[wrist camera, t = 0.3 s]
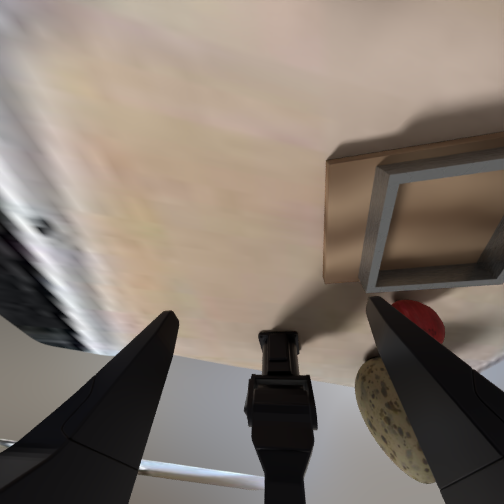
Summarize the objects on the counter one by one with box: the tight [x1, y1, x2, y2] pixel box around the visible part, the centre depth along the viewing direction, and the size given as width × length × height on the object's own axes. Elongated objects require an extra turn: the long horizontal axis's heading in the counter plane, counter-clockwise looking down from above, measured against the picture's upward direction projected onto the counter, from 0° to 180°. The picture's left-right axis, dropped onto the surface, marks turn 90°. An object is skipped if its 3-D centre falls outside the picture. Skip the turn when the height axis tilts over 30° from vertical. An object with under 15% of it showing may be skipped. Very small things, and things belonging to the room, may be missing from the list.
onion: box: [392, 300, 445, 344], centre depth 25 cm, size 6×6×8 cm
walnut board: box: [323, 132, 504, 284], centre depth 21 cm, size 14×20×2 cm
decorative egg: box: [355, 357, 436, 484], centre depth 32 cm, size 11×11×15 cm
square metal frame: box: [358, 147, 504, 293], centre depth 19 cm, size 13×13×2 cm
